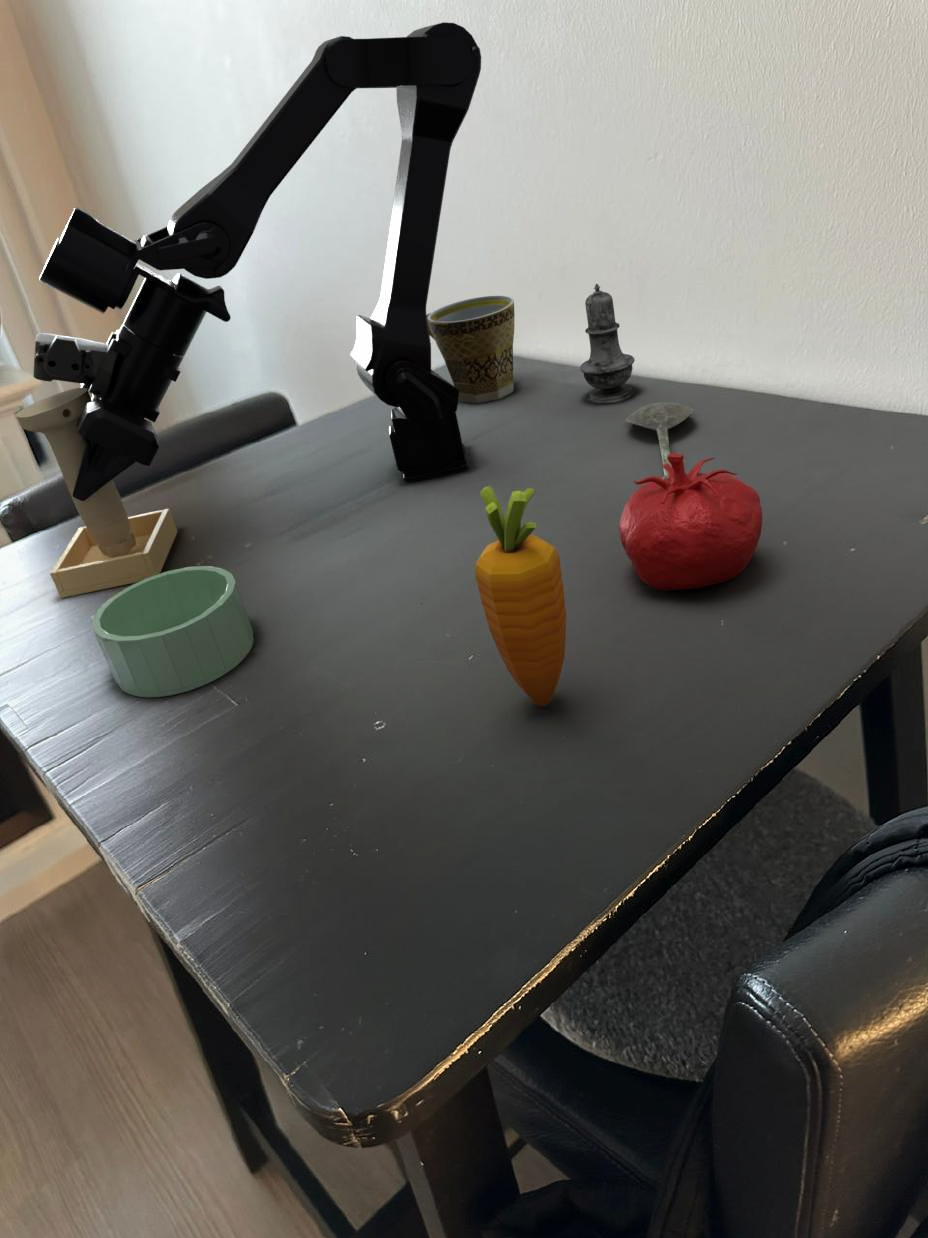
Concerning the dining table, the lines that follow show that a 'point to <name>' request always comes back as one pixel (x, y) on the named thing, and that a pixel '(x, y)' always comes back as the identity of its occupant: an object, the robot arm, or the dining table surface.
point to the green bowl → (174, 631)
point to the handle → (61, 431)
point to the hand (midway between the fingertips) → (78, 492)
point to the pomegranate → (690, 527)
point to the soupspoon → (661, 422)
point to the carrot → (523, 598)
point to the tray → (95, 571)
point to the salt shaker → (605, 353)
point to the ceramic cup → (477, 345)
